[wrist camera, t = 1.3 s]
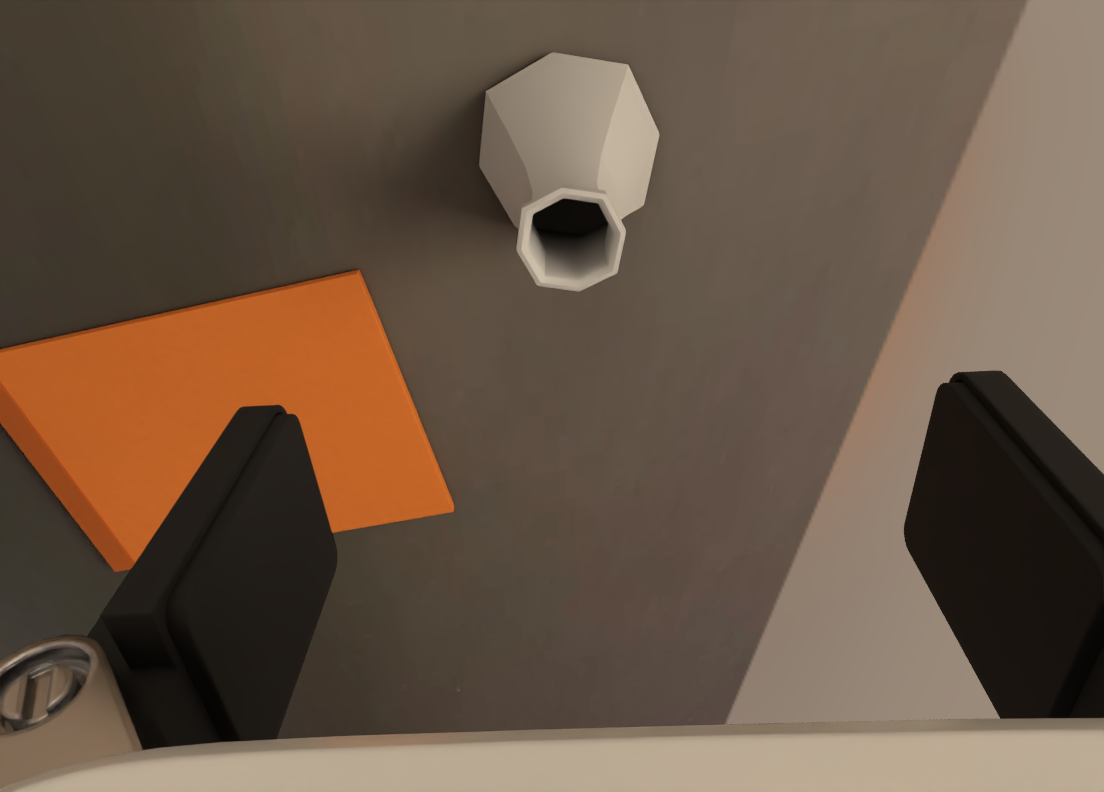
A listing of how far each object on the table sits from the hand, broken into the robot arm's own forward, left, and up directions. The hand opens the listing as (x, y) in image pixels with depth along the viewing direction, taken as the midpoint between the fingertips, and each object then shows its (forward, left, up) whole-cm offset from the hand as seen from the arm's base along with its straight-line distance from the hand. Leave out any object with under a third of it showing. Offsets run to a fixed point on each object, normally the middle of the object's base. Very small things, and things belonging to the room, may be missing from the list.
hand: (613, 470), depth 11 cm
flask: (+1, -1, -22) cm, 22 cm away
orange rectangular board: (+11, -21, -22) cm, 32 cm away
